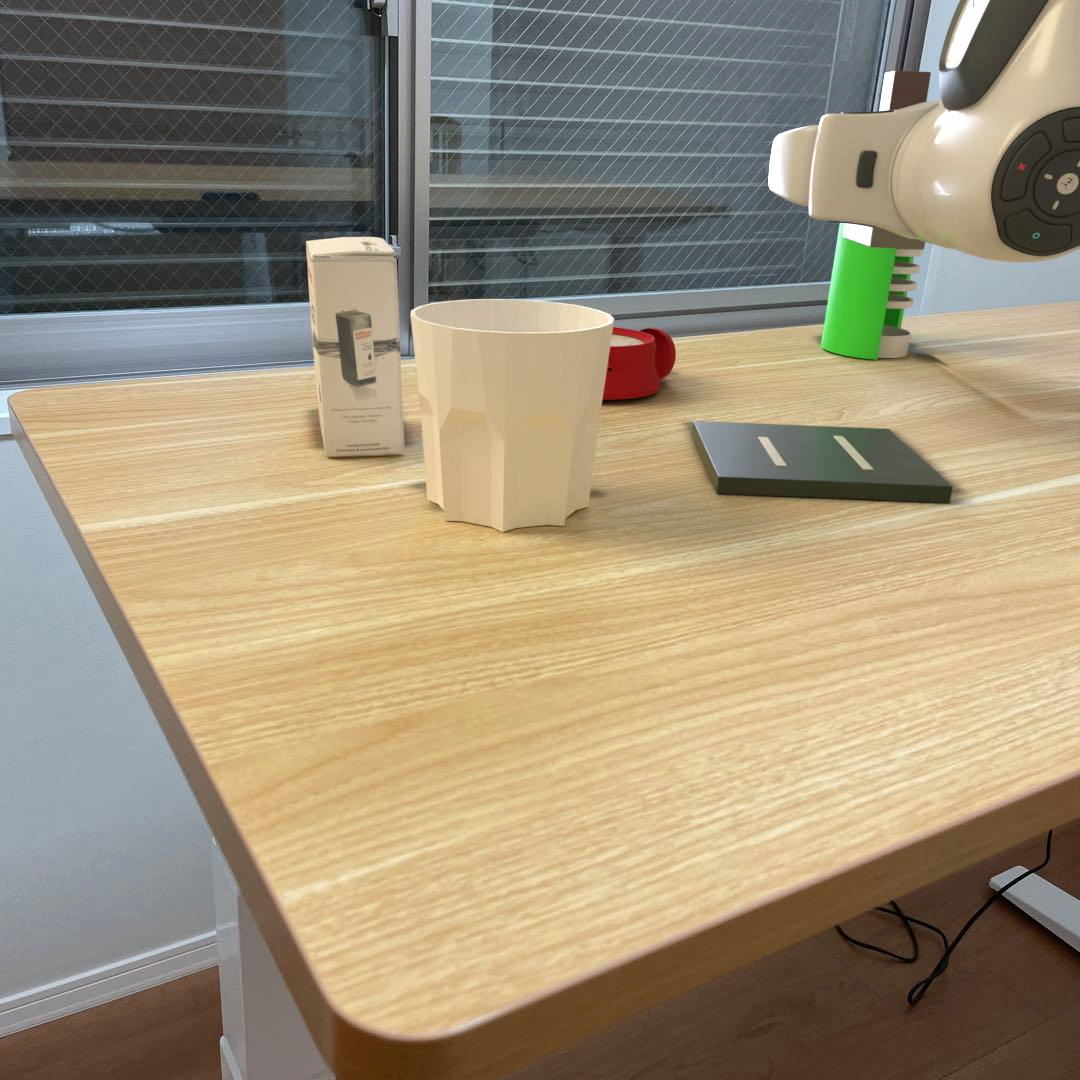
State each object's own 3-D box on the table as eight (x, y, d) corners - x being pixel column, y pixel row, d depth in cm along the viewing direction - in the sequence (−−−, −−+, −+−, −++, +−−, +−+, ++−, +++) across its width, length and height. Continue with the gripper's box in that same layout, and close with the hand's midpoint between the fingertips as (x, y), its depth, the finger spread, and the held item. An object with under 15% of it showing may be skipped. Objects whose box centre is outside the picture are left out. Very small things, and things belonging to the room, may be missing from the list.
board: (886, 443, 68) (889, 428, 68) (950, 503, 57) (953, 485, 57) (691, 435, 68) (692, 420, 68) (716, 493, 57) (718, 476, 57)
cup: (375, 515, 52) (370, 318, 49) (468, 464, 61) (470, 293, 57) (556, 551, 48) (566, 341, 45) (628, 491, 57) (641, 311, 53)
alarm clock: (496, 346, 75) (577, 278, 86) (503, 423, 79) (579, 348, 90) (630, 363, 71) (696, 290, 83) (631, 443, 75) (694, 362, 86)
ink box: (313, 421, 68) (304, 235, 64) (389, 419, 69) (386, 236, 65) (320, 460, 60) (311, 251, 56) (406, 457, 62) (404, 252, 57)
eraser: (842, 237, 83) (865, 74, 78) (891, 239, 83) (917, 76, 78) (869, 247, 75) (896, 67, 71) (924, 249, 75) (954, 70, 71)
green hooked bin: (909, 363, 94) (945, 153, 87) (819, 355, 96) (847, 149, 89) (905, 345, 102) (937, 152, 96) (821, 338, 104) (848, 148, 98)
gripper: (1131, 125, 64) (1035, 127, 77) (801, 112, 64) (761, 116, 77) (1106, 231, 66) (1018, 215, 79) (788, 218, 66) (751, 205, 79)
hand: (889, 166), depth 78 cm, fingers closed on eraser, 2 cm apart
